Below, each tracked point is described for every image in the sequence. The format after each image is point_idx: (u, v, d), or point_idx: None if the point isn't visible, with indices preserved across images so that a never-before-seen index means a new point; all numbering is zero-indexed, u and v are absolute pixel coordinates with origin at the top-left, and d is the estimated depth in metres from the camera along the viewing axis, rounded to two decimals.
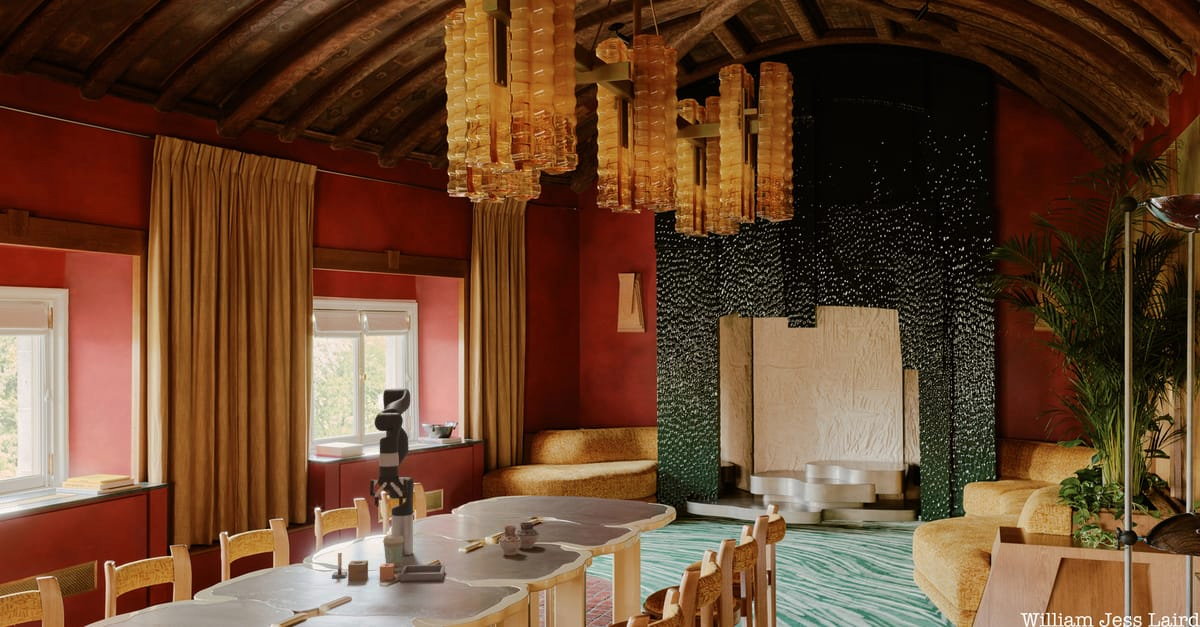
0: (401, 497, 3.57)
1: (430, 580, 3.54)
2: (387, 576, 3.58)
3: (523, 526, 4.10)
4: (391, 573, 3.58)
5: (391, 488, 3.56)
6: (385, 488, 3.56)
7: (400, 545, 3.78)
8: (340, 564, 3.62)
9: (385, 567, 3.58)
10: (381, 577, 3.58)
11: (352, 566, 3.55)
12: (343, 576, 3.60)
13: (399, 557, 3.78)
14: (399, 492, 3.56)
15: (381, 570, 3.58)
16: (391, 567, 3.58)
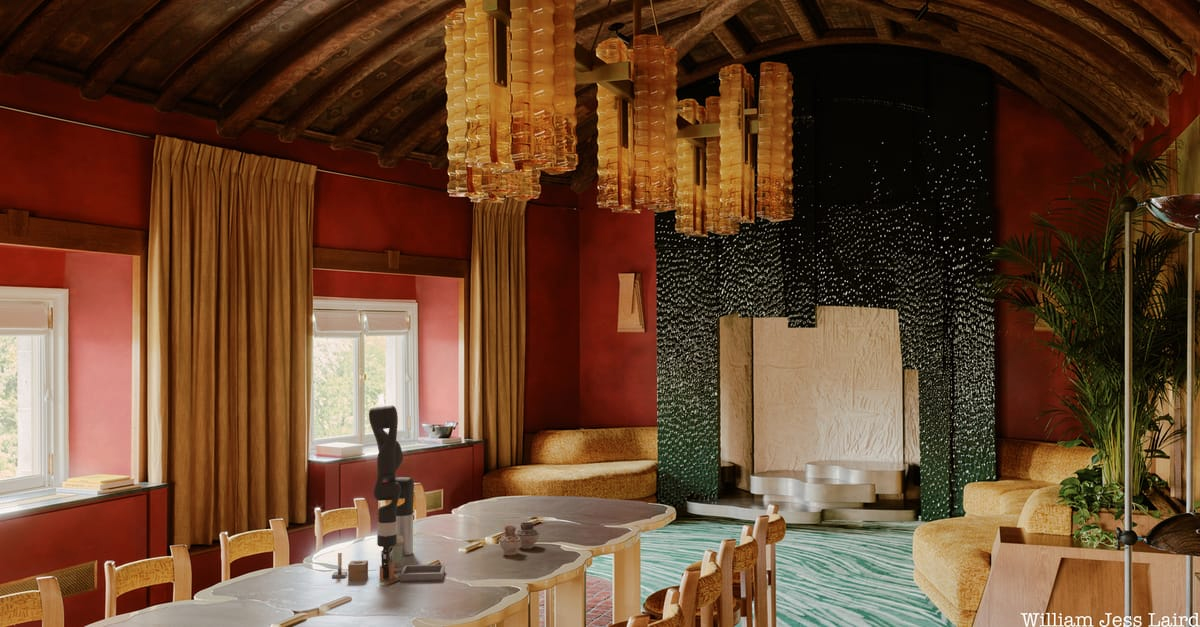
0: None
1: (430, 580, 3.54)
2: None
3: (523, 526, 4.10)
4: (391, 573, 3.58)
5: None
6: None
7: (400, 545, 3.78)
8: (340, 564, 3.62)
9: None
10: (381, 577, 3.58)
11: (352, 566, 3.55)
12: (343, 576, 3.60)
13: (399, 557, 3.78)
14: (391, 561, 3.63)
15: (381, 570, 3.58)
16: (391, 567, 3.58)
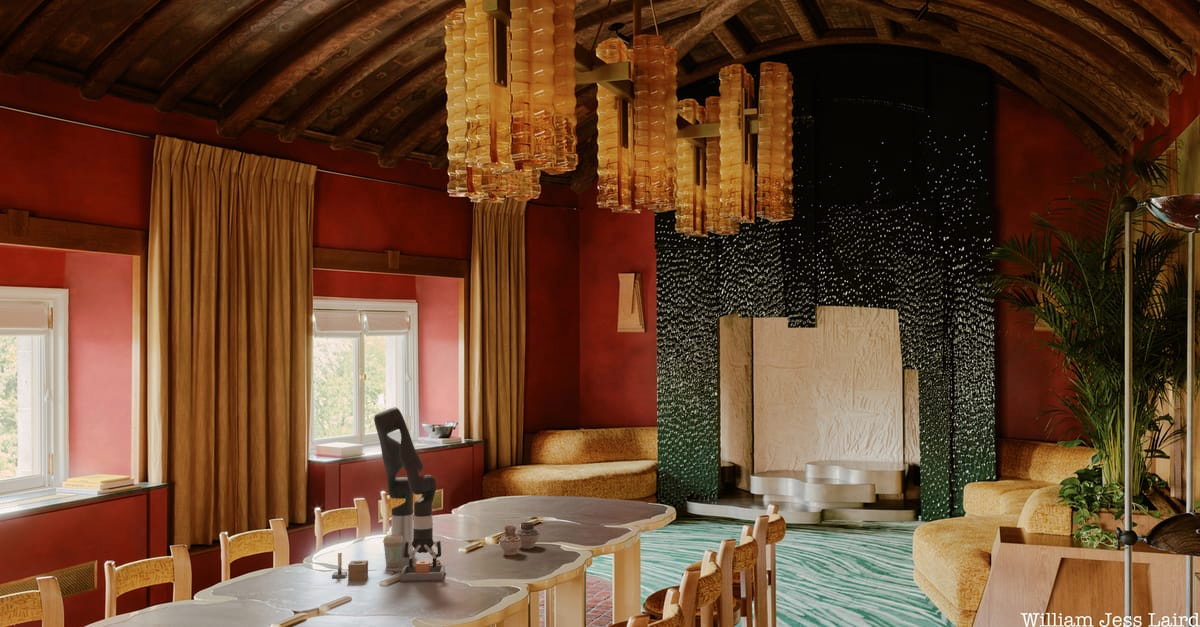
0: None
1: (430, 580, 3.54)
2: None
3: (523, 526, 4.10)
4: (429, 567, 3.63)
5: None
6: None
7: (400, 545, 3.78)
8: (340, 564, 3.62)
9: (428, 563, 3.61)
10: None
11: (352, 566, 3.55)
12: (343, 576, 3.60)
13: (399, 557, 3.78)
14: None
15: (428, 566, 3.59)
16: (429, 561, 3.63)
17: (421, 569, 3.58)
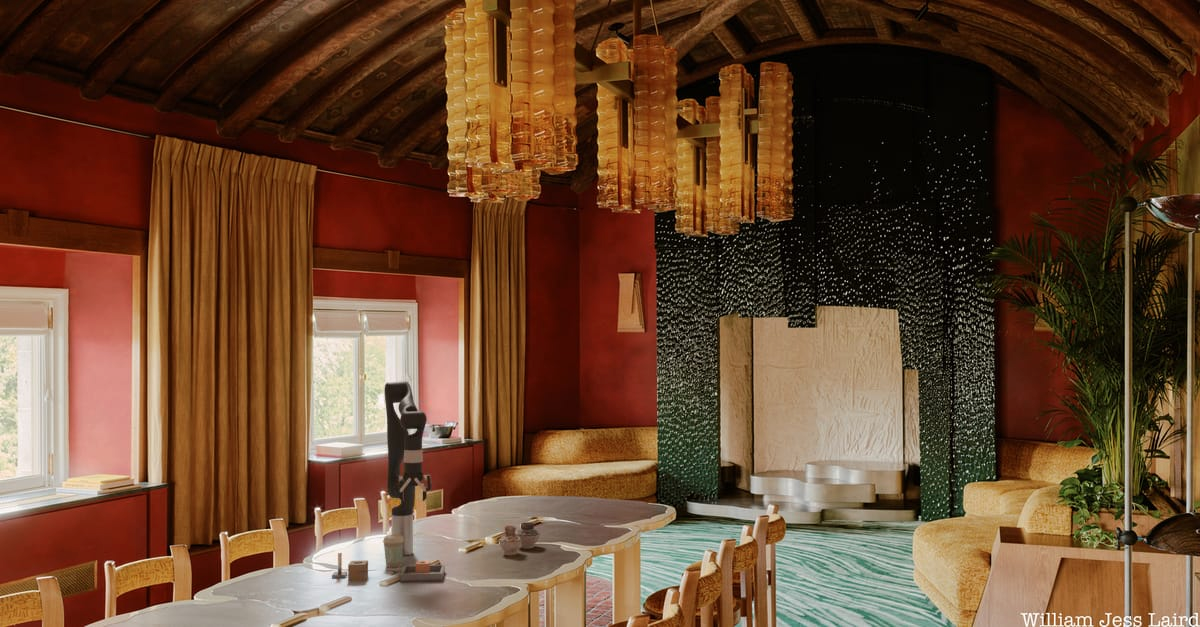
0: None
1: (430, 580, 3.54)
2: None
3: (523, 526, 4.10)
4: (429, 567, 3.63)
5: None
6: None
7: (400, 545, 3.78)
8: (340, 564, 3.62)
9: (428, 563, 3.61)
10: None
11: (352, 566, 3.55)
12: (343, 576, 3.60)
13: (399, 557, 3.78)
14: None
15: (428, 566, 3.59)
16: (429, 561, 3.63)
17: (421, 569, 3.58)
